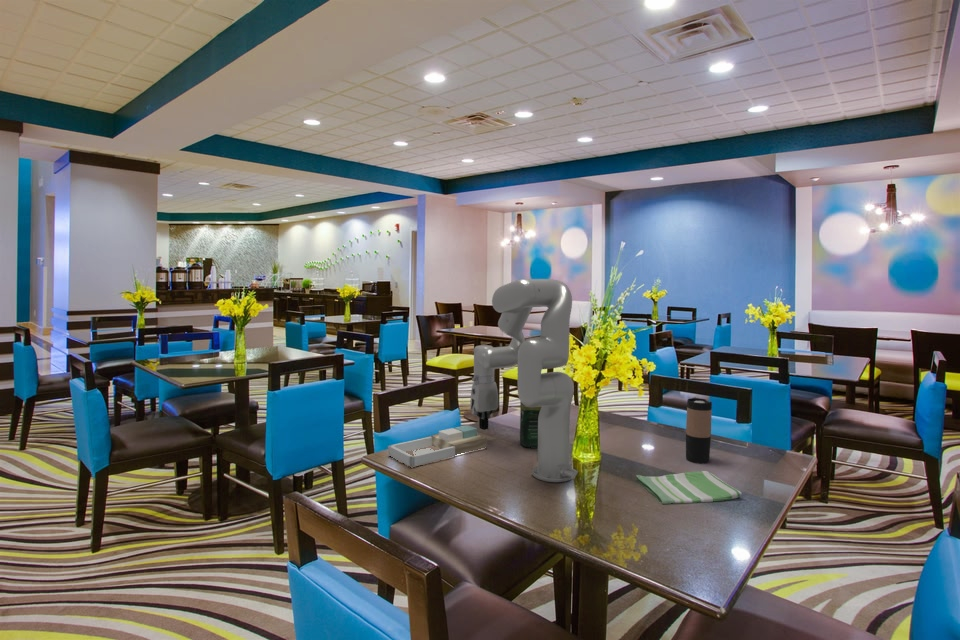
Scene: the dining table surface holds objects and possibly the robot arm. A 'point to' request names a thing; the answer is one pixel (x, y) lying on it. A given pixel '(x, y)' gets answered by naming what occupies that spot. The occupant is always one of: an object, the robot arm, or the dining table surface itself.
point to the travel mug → (698, 430)
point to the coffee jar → (529, 425)
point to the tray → (419, 452)
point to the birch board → (461, 443)
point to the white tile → (450, 435)
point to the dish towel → (688, 488)
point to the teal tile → (467, 431)
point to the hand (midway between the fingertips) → (483, 428)
